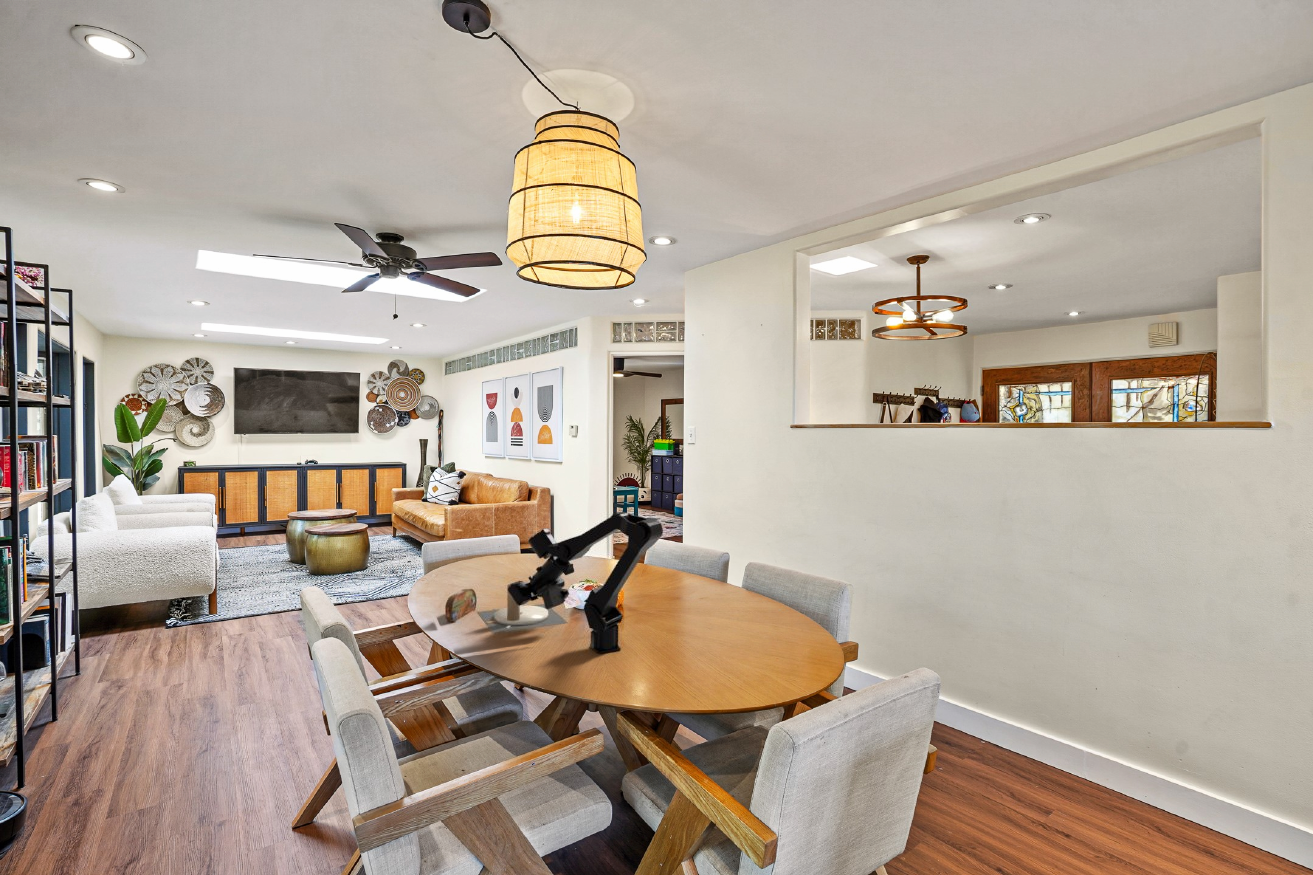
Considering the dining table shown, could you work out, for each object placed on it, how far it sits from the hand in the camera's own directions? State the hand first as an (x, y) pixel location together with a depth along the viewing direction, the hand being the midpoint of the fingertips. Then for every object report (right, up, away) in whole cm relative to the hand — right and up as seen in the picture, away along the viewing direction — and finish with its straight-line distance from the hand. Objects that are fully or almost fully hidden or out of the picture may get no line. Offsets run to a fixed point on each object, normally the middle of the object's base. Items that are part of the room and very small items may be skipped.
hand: (522, 603), depth 184 cm
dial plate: (-2, -7, +8) cm, 11 cm away
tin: (-20, -7, +9) cm, 23 cm away
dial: (-2, -6, +8) cm, 10 cm away
